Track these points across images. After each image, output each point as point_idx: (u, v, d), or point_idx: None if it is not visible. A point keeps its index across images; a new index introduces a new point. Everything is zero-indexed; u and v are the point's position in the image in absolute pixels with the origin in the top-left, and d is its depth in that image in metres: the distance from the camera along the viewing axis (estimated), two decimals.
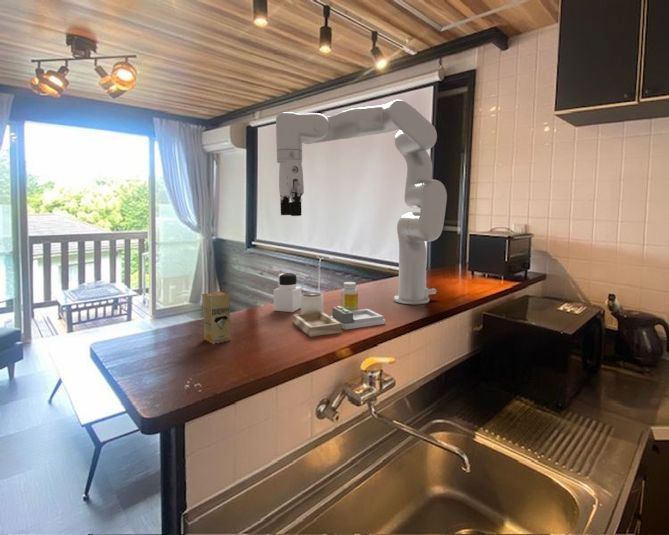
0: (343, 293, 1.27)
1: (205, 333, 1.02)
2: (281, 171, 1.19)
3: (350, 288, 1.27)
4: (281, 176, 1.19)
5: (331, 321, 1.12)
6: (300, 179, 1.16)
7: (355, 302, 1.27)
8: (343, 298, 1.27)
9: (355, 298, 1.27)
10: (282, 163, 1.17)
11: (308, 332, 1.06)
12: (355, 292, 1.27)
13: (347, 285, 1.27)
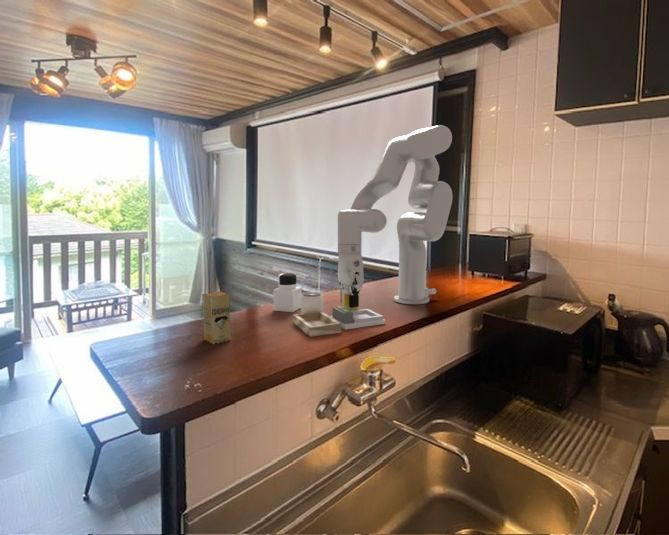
0: (343, 293, 1.27)
1: (205, 333, 1.02)
2: (342, 262, 1.27)
3: None
4: (342, 266, 1.27)
5: (331, 321, 1.12)
6: (361, 271, 1.24)
7: None
8: (343, 298, 1.27)
9: None
10: (343, 256, 1.25)
11: (308, 332, 1.06)
12: None
13: (347, 285, 1.27)
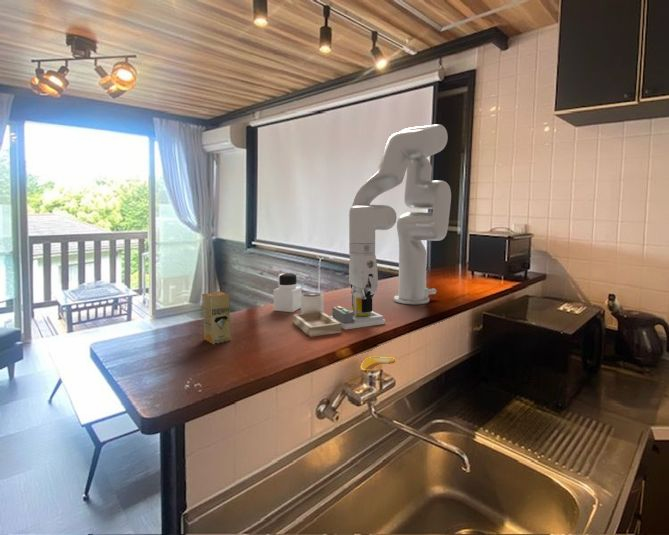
0: (355, 297, 1.17)
1: (205, 333, 1.02)
2: (354, 263, 1.16)
3: None
4: (353, 268, 1.16)
5: (331, 321, 1.12)
6: (375, 273, 1.13)
7: None
8: (355, 302, 1.17)
9: None
10: (355, 256, 1.15)
11: (308, 332, 1.06)
12: None
13: (359, 288, 1.16)
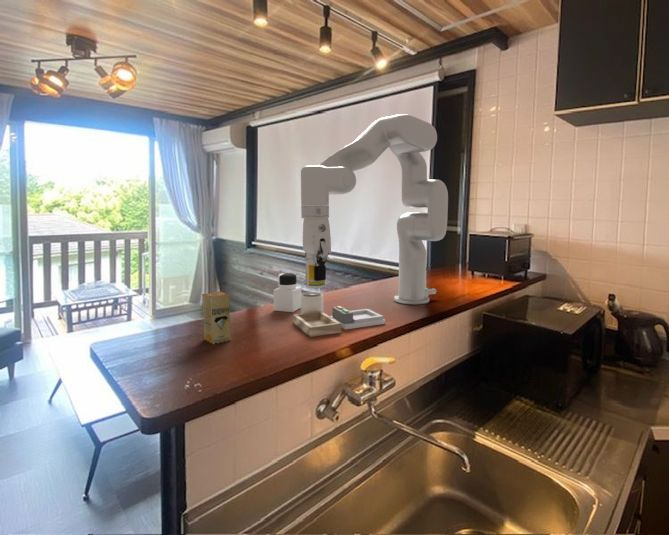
0: (307, 264, 1.09)
1: (205, 333, 1.02)
2: (306, 228, 1.08)
3: None
4: (306, 233, 1.09)
5: (331, 321, 1.12)
6: (327, 238, 1.06)
7: None
8: (307, 270, 1.09)
9: None
10: (307, 220, 1.07)
11: (308, 332, 1.06)
12: None
13: None
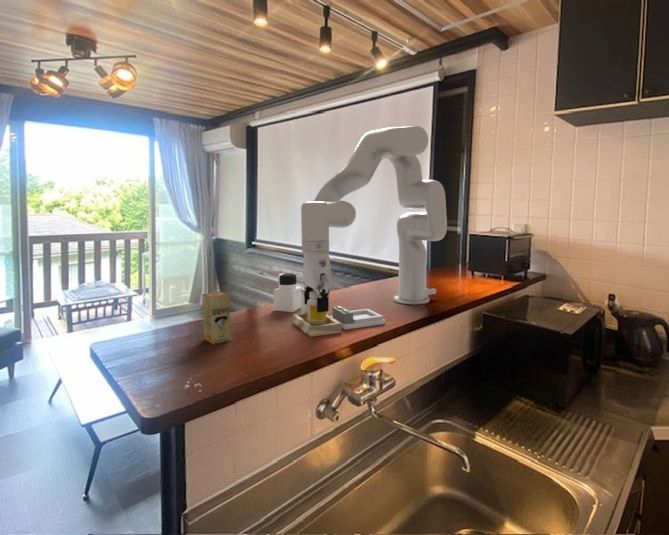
0: (308, 304, 1.11)
1: (205, 333, 1.02)
2: (306, 262, 1.10)
3: (316, 298, 1.10)
4: (306, 267, 1.10)
5: (331, 321, 1.12)
6: (327, 273, 1.07)
7: (322, 314, 1.11)
8: (309, 310, 1.11)
9: None
10: (308, 254, 1.08)
11: (308, 332, 1.06)
12: None
13: (313, 295, 1.10)
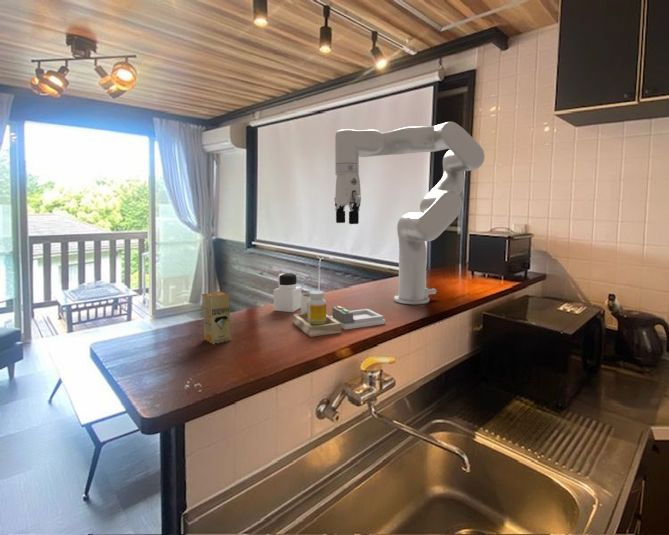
0: (309, 304, 1.11)
1: (205, 333, 1.02)
2: (339, 183, 1.29)
3: (317, 298, 1.10)
4: (339, 187, 1.29)
5: (331, 321, 1.12)
6: (358, 190, 1.26)
7: (322, 314, 1.11)
8: (309, 310, 1.11)
9: (322, 310, 1.11)
10: (341, 175, 1.28)
11: (308, 332, 1.06)
12: (322, 303, 1.10)
13: (313, 295, 1.10)
